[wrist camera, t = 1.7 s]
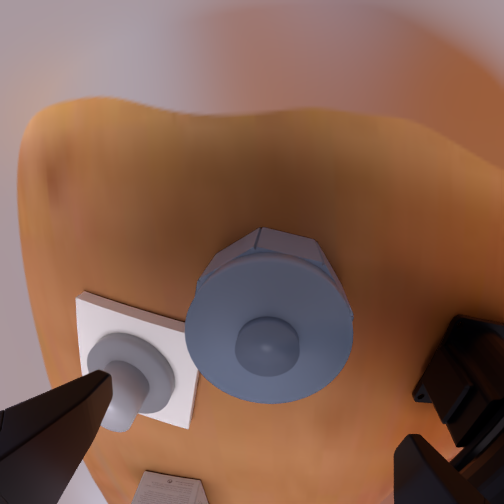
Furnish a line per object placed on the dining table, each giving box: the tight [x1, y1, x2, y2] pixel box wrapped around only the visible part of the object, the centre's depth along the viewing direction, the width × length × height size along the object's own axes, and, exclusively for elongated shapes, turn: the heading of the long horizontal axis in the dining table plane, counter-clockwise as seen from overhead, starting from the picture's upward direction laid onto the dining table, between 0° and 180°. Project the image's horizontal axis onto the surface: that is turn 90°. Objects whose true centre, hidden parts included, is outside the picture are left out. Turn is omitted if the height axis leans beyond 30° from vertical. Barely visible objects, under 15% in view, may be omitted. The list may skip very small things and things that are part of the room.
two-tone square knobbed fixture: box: [76, 291, 200, 432], centre depth 16 cm, size 8×8×5 cm
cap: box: [185, 227, 354, 404], centre depth 14 cm, size 7×7×5 cm
